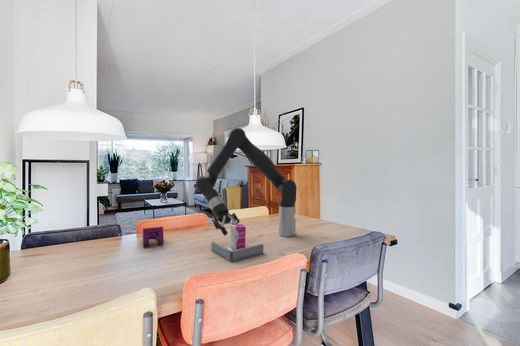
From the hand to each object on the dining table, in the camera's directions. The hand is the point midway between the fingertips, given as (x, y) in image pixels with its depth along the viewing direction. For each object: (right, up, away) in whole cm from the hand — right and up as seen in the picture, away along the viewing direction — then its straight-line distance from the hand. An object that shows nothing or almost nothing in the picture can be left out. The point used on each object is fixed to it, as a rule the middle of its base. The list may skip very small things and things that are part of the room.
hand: (232, 232), depth 130 cm
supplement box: (+3, -8, -2) cm, 8 cm away
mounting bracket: (-44, -8, +11) cm, 47 cm away
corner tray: (+2, -8, -4) cm, 10 cm away
